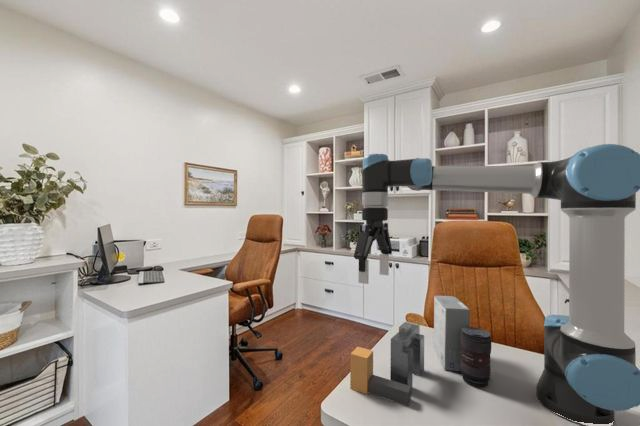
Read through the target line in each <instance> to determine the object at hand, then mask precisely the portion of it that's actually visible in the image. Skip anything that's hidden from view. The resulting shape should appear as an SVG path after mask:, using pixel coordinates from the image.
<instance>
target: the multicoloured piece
mask: <svg viewBox="0 0 640 426" xmlns="http://www.w3.org/2000/svg"><path fill="white" fill-rule="evenodd" d="M349 376H350V377H349V378H350V382H349V383H350V384H349V385H350V387H349V388H350V390H353V391H357V392H359V393H362V394H366V395H368V394H371V395H374V396H377V397H379V398H383V399H386V400H389V401H392V402H395V403H398V404H401V405H403V406H407V407H409V406H410V402H411V400H412V389H411V386H409V385H405V384H402V383H399V382H395V381H392V380H390V379H389V378H385V377H383V376H382V377H381V376H378V375H375V374H374V350H372V349H368V348H365V347H360V346H356V347H355V349H354V350H352V351H351V353H350V375H349Z"/></svg>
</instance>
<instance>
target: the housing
mask: <svg viewBox="0 0 640 426" xmlns="http://www.w3.org/2000/svg"><path fill="white" fill-rule="evenodd" d="M420 328H421V327H420V325H419V324H414V323H411V322H407V321H404V322H403V323H402V324H401V325H399V326H398V332H397V333H396V334H394V335H393V336H392V337H391V338H390V374H389V375H390V379H389V380H392V381H395V382H399V383H402V384H405V385H409V386H411V390H412V389H413V375H416V376H418V377H422V374H423V373H424V372H425V335H423V334H421V333H420V330H421V329H420Z"/></svg>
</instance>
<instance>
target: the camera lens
mask: <svg viewBox="0 0 640 426" xmlns="http://www.w3.org/2000/svg"><path fill="white" fill-rule="evenodd" d="M460 343H461V364H460V366H461V371H460V373H461V375H462V380H463V382H465V384H468V385H469V386H471V387H474V388H478V389H485V388H487V387H488V386H489V381H490V378H491V367H492V366H491V353H492V336H491V332H489V331H487V330H485V329H482V328H479V327H475V326H470V327H463V328H462V331H461V341H460Z"/></svg>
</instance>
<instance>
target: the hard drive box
mask: <svg viewBox="0 0 640 426" xmlns="http://www.w3.org/2000/svg"><path fill="white" fill-rule="evenodd" d="M433 297H434V298H433V300H434V301H433V302H434V303H433V305H434V306H433V308H434V309H433V349H434V351H435V353H436V355H437V357H438V360H439V361H440V364H441V365H442V367H443V369H444V370H446V371H455V372H461V366H460V364H461V343H460V341H461V331H462V328H463V327H471V325H470V322H471V321H470V317H471V309H470V308H469V307H467V306H466V304H465V303H463V302H462V301H461V300H460V299H458V298H457V297H456V296H451V295H450V296H449V295H434V296H433Z"/></svg>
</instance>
